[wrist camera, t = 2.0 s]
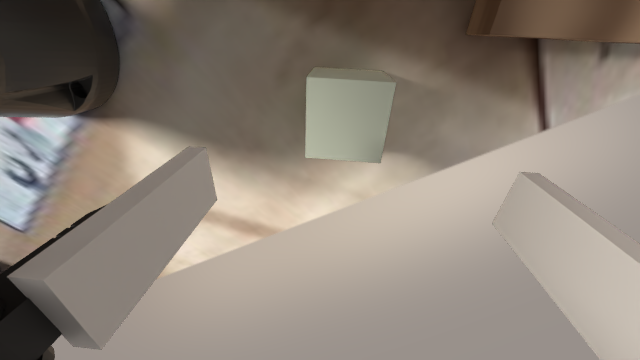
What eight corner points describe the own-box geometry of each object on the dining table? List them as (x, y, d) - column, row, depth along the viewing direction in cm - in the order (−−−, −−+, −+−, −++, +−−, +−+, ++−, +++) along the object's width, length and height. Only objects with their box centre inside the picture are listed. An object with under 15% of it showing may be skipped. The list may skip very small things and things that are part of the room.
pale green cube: (312, 131, 24) (305, 157, 19) (314, 66, 21) (306, 77, 16) (372, 135, 24) (380, 163, 19) (382, 70, 21) (396, 82, 16)
